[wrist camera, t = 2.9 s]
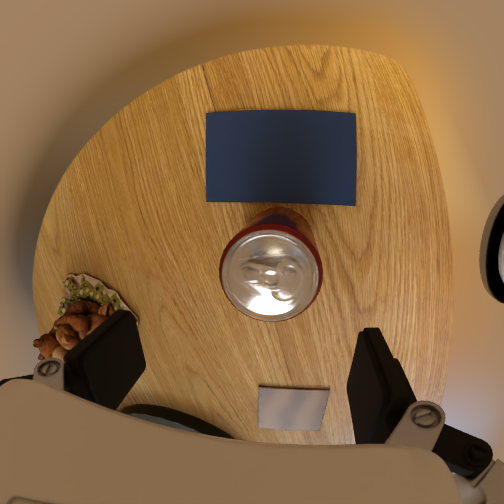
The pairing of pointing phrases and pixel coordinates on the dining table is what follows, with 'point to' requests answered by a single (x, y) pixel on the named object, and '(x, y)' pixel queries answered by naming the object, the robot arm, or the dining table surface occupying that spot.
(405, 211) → the dining table surface
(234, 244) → the soda can
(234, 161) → the place mat
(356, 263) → the dining table surface
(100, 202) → the dining table surface
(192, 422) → the disc
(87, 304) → the bear figurine
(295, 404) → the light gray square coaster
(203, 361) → the dining table surface
